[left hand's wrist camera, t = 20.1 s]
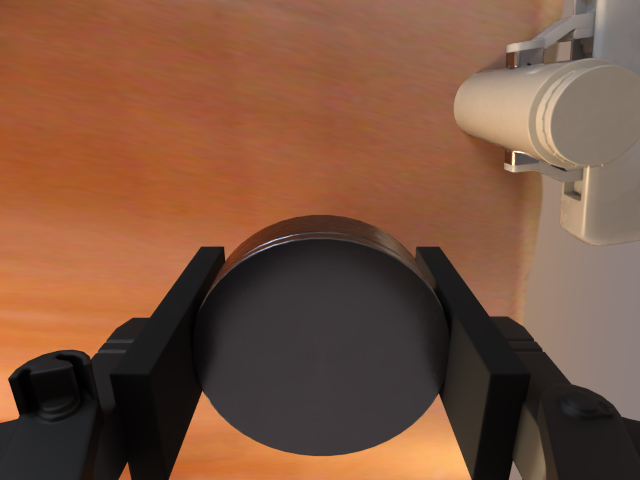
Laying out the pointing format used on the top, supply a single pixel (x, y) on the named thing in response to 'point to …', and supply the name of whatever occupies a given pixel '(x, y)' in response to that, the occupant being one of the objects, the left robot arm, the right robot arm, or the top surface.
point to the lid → (321, 337)
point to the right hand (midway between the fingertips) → (508, 111)
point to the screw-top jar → (554, 110)
